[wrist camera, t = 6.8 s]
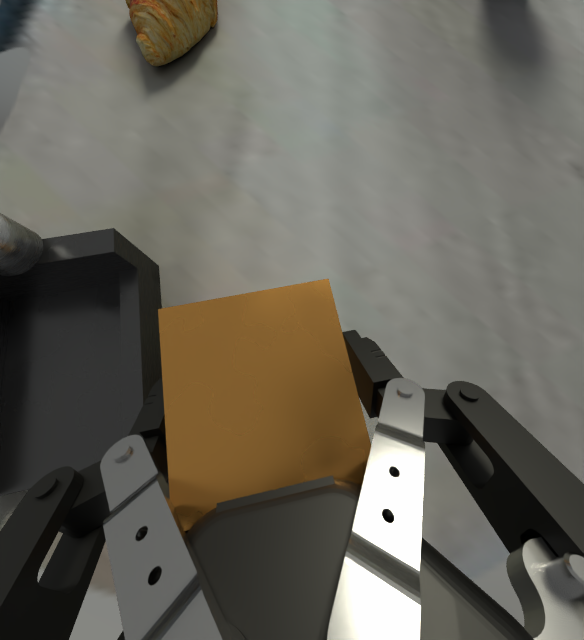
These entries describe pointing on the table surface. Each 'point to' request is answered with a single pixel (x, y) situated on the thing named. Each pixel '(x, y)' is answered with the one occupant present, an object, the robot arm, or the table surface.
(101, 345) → the tray
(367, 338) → the robot arm
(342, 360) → the block
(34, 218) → the table surface
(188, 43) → the croissant
